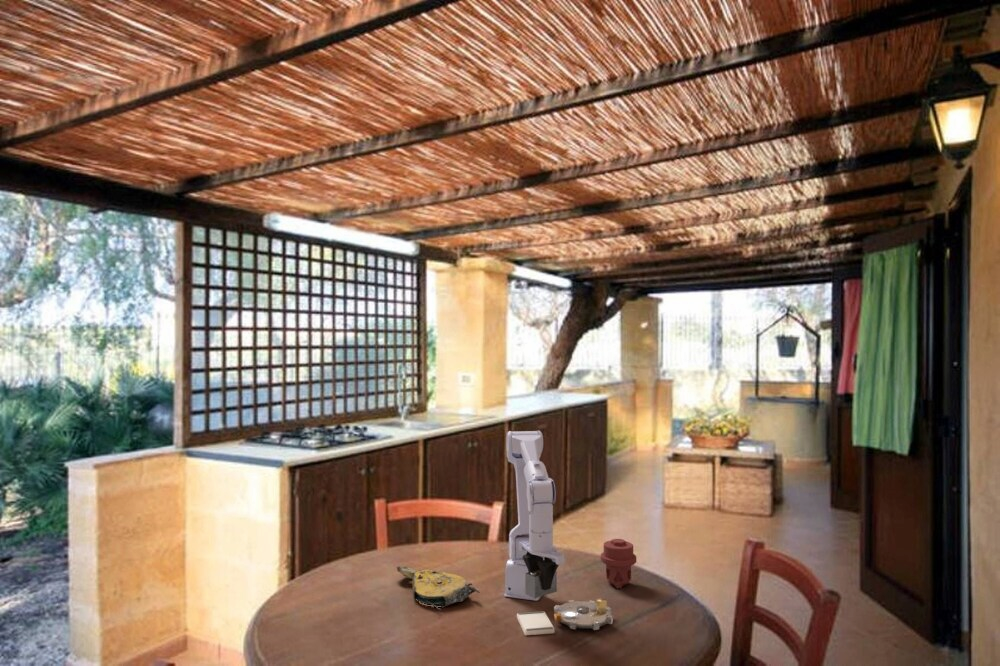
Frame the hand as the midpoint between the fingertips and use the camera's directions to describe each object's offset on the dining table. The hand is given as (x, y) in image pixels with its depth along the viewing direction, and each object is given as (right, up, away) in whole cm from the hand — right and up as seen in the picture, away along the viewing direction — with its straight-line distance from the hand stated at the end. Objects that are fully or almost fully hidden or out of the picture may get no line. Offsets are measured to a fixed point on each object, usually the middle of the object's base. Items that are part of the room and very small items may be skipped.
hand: (541, 586), depth 153 cm
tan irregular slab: (-29, -10, +21) cm, 37 cm away
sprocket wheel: (+10, -9, +1) cm, 14 cm away
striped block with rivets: (0, -1, 0) cm, 1 cm away
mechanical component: (+24, -10, +26) cm, 37 cm away
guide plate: (-2, -9, -1) cm, 9 cm away
